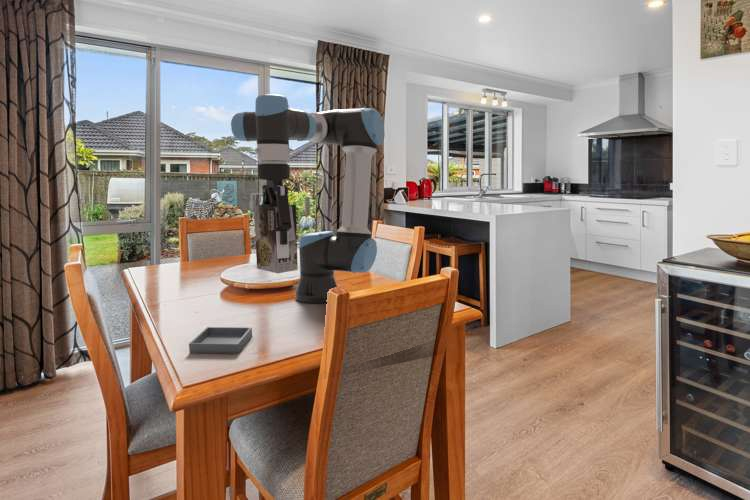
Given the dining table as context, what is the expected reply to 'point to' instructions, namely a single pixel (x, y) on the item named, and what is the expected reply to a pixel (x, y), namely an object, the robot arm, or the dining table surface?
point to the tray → (221, 340)
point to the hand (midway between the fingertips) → (276, 254)
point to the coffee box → (273, 240)
